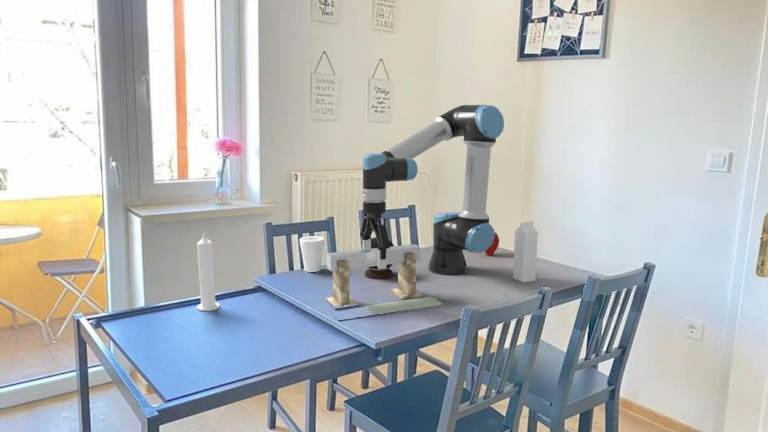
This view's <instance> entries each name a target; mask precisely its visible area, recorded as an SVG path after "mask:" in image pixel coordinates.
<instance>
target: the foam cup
mask: <svg viewBox="0 0 768 432" xmlns="http://www.w3.org/2000/svg"><path fill="white" fill-rule="evenodd" d="M299 245H300V250H301V251H300V252H301V255H302V256H301V257H302V263H303V269H304V272H305V271H307V272H316V273H318V272H317V271H320V270H322V262H323V261H322V260H323V254H324V245H325V238H324V237H323V236H317V235H315V236H313V235H310V236H309V235H308V236H303V237H301V238H299ZM307 272H306V273H307ZM320 272H321V271H320Z"/></svg>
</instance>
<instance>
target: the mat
mask: <svg viewBox="0 0 768 432" xmlns="http://www.w3.org/2000/svg"><path fill="white" fill-rule="evenodd" d="M443 305H444V304H443V303H442V302H441V301H440V300H438V299H437V298H436V297H435V298H434V297H433V296H426V297H425V296H424V297H416V298H409V299H402V300H397V301H390V302H384V303H383V302H382V303H376V304H369V305H364V307H368V308H367V309H369V308H370V310H368V311H372V312H370V313H373V314H379V313H387V312H395V313H398V312H397V311H401V312H405V311H404V310H408V311H413V310H412V309H414V310H420V309H425V308H431V307H432V308H433V307H439V306H440V307H441V306H443ZM364 310H365V309H364Z"/></svg>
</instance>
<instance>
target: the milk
mask: <svg viewBox="0 0 768 432" xmlns="http://www.w3.org/2000/svg"><path fill="white" fill-rule="evenodd" d="M538 234H539V232H538V230H537V229H536V227H535V226H534V221H528V222H527V221H526V222H520V223H519V227H517V228H516V229H514V242H513V243H514V244H513V245H514V248H513V249H514V250H513V266H512V269H513V270H512V271H513V272H512V279H514V280H516V281H518V282H520V283H527V282H528V283H529V282H535V281H536V280H537V279H536V276H537V255H538V237H539V236H538Z"/></svg>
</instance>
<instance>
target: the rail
mask: <svg viewBox="0 0 768 432" xmlns="http://www.w3.org/2000/svg"><path fill="white" fill-rule="evenodd" d="M406 254H416V262H420V261H421V246H419V245H418V244H415V243H412V244H402V245H394V246H392V247H390V248H388V249H386V265H389V264H393V265H396V264H397V265H398V263H406ZM341 261H348V262H349V270H351V269H352V270H353V269H361V268H369V267H371V266H378V250H377V248H373V249H364V250H363V249H358V250H357V249H356V250H354V249H353V250H347V251H346V250H345V251H336V252H335V251H334V252H328V253H327V252H326V268H327V269H328V271H330V272H333V271H337V270H339V262H341Z"/></svg>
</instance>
